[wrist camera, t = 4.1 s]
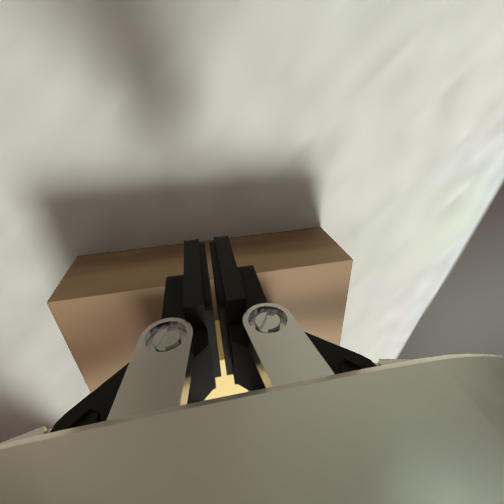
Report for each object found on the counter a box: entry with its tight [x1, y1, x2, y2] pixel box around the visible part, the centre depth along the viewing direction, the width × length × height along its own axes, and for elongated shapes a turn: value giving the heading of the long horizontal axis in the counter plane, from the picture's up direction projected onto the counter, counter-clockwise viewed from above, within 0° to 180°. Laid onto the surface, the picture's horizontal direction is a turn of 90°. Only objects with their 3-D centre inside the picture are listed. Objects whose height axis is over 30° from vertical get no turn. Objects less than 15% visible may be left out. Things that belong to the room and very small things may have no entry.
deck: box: [47, 227, 353, 393], centre depth 19 cm, size 18×14×4 cm
